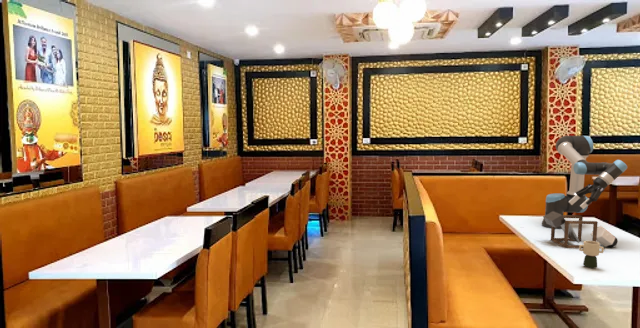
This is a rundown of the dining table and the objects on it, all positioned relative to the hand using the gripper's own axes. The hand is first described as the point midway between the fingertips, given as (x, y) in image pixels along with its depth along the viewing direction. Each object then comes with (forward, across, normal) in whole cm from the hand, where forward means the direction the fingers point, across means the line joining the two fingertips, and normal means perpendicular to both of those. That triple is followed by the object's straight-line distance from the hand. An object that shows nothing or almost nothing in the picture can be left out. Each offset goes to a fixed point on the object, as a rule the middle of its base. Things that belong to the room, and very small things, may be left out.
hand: (575, 205), depth 282 cm
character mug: (+27, -46, -7) cm, 54 cm away
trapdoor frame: (+17, 0, -16) cm, 24 cm away
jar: (+3, -6, -18) cm, 19 cm away
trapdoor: (+20, 0, -3) cm, 20 cm away
